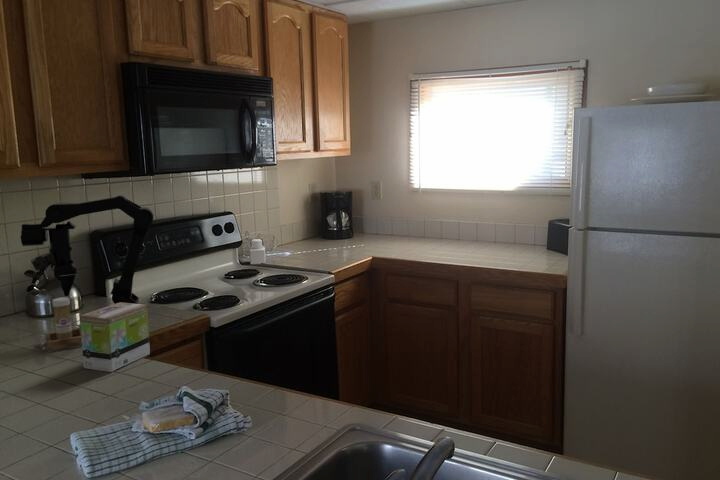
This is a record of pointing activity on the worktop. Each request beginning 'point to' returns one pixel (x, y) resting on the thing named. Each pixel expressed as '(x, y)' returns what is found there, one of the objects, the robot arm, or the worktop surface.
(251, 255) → the medicine bottle
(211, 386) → the worktop surface
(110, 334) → the tea box
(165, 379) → the worktop surface
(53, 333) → the square wooden tray
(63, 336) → the sprinkles bottle
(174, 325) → the worktop surface
